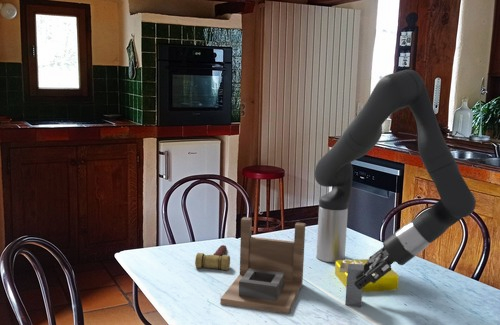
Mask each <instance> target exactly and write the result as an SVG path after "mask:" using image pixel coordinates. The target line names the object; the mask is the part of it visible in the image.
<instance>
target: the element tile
mask: <svg viewBox="0 0 500 325" xmlns="http://www.w3.org/2000/svg"><path fill="white" fill-rule="evenodd" d="M368 260H370V259H369V258H365V259H364V258H361V259H344V260H337V261H336V262H334V264H335V267H334V275H335V277H336V278H337V279H338V280H339V281H340V282H341V283H342V284H343V286H344V287H345V288H346V285H347V273H343V272H339V271H340V265H341V263H349V264H358V265H364V264H366V263H367V261H368ZM381 271H382V270H381ZM372 275H373V276H374V275H375V273H373V274H372ZM399 279H400V276H399V274H398V273H397V272H396V271H394V270H393V268H392V269H391V271H389V272H388V273H386V274H385V275H384V276H383V277H381V278H380V279H379V280H377V281H376V282H375V283H372V282H370V283H368V284H367V285H366V286H364V287H363V291H362V292H380V291H381V292H382V291H397V290H398V288H399V282H400V281H399Z"/></svg>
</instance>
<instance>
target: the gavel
mask: <svg viewBox="0 0 500 325" xmlns="http://www.w3.org/2000/svg"><path fill="white" fill-rule="evenodd" d="M227 248H228V247H227V246H226V245H224V244H221V245H220V246H219V247H218V248H217V249H216V251H215V252H214V253H213V254H205V253H204V252H202V253H201V252H198V253H196V255H195V259H194V266H195V268H196V269H203V268H205V269H214V270H215V269H216V270H217V269H219V270H220V269H221V271H229V269H230V267H231V266H230V265H231V257H230V255H228V254H225V253H226V252H227Z"/></svg>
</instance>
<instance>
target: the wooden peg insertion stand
mask: <svg viewBox="0 0 500 325" xmlns="http://www.w3.org/2000/svg"><path fill="white" fill-rule="evenodd" d="M252 225H253V218H252V217H249V216H248V217H246V216H243V217H242V218H241V219H240V249H239V252H240V253H239V255H240V256H239V274H238V276H237V277H236V278H235V279H234V281H233V282H232V283H231V285H230V286H228V288H227V290H226V291H225V292H224V294H223V295H222V296H221V297H220V303H219V304H220V305H225V306H231V307H240V308H246V309H253V310H259V311H265V312H272V313H273V312H274V313H280V314H286V315H290V313H291V310H292V308H293V306H294V304H295V301H296V299H297V297H298V295H299V293H300V290H301V288H302V286H303V284H304V283H303V282H304V279H303V278H304V259H305V243H306V242H305V241H306V240H305V239H306V238H305V237H306V223H304V222H295V224H294V238H293V240H294V241H292V240H283V239H274V238H265V237H255V236H252V230H253V229H252V227H253V226H252Z"/></svg>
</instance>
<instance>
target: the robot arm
mask: <svg viewBox="0 0 500 325" xmlns="http://www.w3.org/2000/svg"><path fill="white" fill-rule="evenodd" d="M407 107H408V108H409V109H410V111H411V113H412V115H413V117H414V120H415V122H416V128H417V148H418V153H419V157H420V160H421V162H422V164H423V166H424V168H425V170H426V171H427V174H428V175H429V177H430V179H431V180H432V182H433V183H434V185H435V188H436V191H437V194H438V195H439V198H440V199H439V200H438V201H436V202H435V204H433V205H432V206H431V207H430V208H428V209H426V210H424V211H423V212H422V213H420V214H418V216H416V217H415V218H414V219H412V220H410V222H408V223H406V224H405V225H403V226H401V227H400V228H399V229H397V231H395V232H394V233H393V234H391V235H390V236H389V237H387V238H386V239H385V240H384V241H383V243H382V245H383V247H381V248H380V249H378V251H376V252H375V253H373V254H372V255H370V256H369V258H368V259H370V260H368V261H367V263H366V264H364V275H363V276H362V277H360V278H359V279H358V280H356V281H355V283H354V285H355V286H356V287H357V288H358V289H362V288H363V287H364V286H366V285H367V284H368V283H370V282H372V283H375V282H376V281H377V280H379V279H380V278H381V277H383V276H384V275H385V274H386V273H388V272H389V271H391V269H392V270H393V268H392V264H393V263H396V264H398V265H399V266H403V265H406V264H407V263H409V261H411V260H412V259H414V258H415V257H416V256H417V255H419V254H420V253H422V252H423V251H424V250H425V249H426V248H427V247H428V246H429V245H430V244H432V243H433V242H434V241H436V240H437V239H438V238H440V237H441V236H443V234H445V232H446V231H447V230H448V229H449V228H450V227H451V226H453V225H455V224H457V223H458V222H460V221H461V220H462V219H464V218H466V217H469V216H470V215H472V213H473V212H474V211H475V208H476V203H477V201H476V200H477V199H476V197H475V194H474V193H473V192H472V191H471V190H470V188H469V186H468V185H467V184H468V183H467V182H466V181H465V179H464V177H463V176H462V174H461V170H460V167H459V165H458V163H457V161H456V159H455V157H454V155H453V153H452V152H451V150H450V148H449V146H448V144H447V142H446V139H445V137H444V135H443V133H442V130H441V128H440V125H439V122H438V119H437V116H436V113H435V110H434V107H433V104H432V102H431V99H430V96H429V92H428V90H427V87H426V84H425V82H424V80H423V78H422V76H421V75H420V74H419V72H417V71H416V70H413V69H404V70H400V71H397V72H393V73H390V74H386V75H385V76H383V77H381V79H379V80H378V82H377V83H376V84H375V86H374V88H373V90H372V91H371V94H369V97H368V99H367V101H366V102H365V104H364V105H363V106H362V108H361V109H360V110H359V112H358V113H357V115H356V116H355V117H354V119H353V120H352V121H351V122H350V123H349V125H348V126H347V127H346V129H345V131H343V133H342V135H341V136H340V137H339V138H338V139H337V141H336V142H335V144H334V145H333V146H332V147H331V148H330V149H329V150H328V151H327V152H326V153H325V154H324V155H323V156H322V157H320V159H319V160H318V162H317V164H316V165H315V169H314V179H315V181H316V183H317V185H320V186H322V187H325V188H326V187H327V188H329V187H330V188H332V190H331V191H329V192H328V193H326V194H323V195H322V196H321V197H319V200H318V221H317V238H316V242H317V243H316V256H315V257H316V259H318V260H320V261H322V262H326V263H336V261H337V260H346V258H345V257H346V246H347V244H346V243H347V228H348V215H349V214H348V211H349V202H350V200H351V193H352V184H353V178H354V177H353V176H354V175H353V174H354V173H353V172H354V170H353V165H352V162H354V161H356V160H359V159H360V158H362V157H364V156H366V155H367V154H369V153H370V151H371V150H372V149H373V148H374V147H375V146H376V145H377V143H378V142H379V141H380V139H381V137H382V134H383V124H384V123H385V122H386V121H387V119H388V118H389V117H390V116H392V114H394V113H396V112H397V111H399V110H402V109H405V108H407ZM381 270H382V271H381ZM373 273H375V275H374V276H373V275H372V274H373Z"/></svg>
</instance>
